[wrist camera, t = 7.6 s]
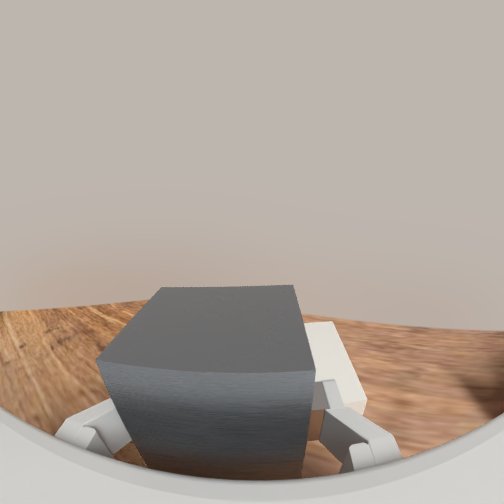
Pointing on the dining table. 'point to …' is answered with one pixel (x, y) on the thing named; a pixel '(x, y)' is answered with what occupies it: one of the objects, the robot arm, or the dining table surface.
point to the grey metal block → (215, 382)
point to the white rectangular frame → (335, 363)
